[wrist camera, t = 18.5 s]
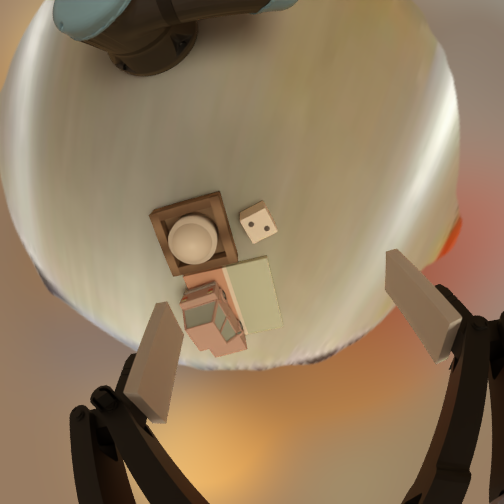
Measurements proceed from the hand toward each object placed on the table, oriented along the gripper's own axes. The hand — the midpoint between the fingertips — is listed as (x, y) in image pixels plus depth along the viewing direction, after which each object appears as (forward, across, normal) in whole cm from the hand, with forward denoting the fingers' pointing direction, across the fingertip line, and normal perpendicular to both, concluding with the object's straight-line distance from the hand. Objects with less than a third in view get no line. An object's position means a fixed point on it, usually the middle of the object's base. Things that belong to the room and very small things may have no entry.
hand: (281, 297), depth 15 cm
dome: (+31, -12, -6) cm, 34 cm away
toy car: (+31, -13, -23) cm, 41 cm away
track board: (+32, -9, -22) cm, 40 cm away
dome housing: (+32, -12, -6) cm, 34 cm away
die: (+32, -1, -6) cm, 32 cm away
